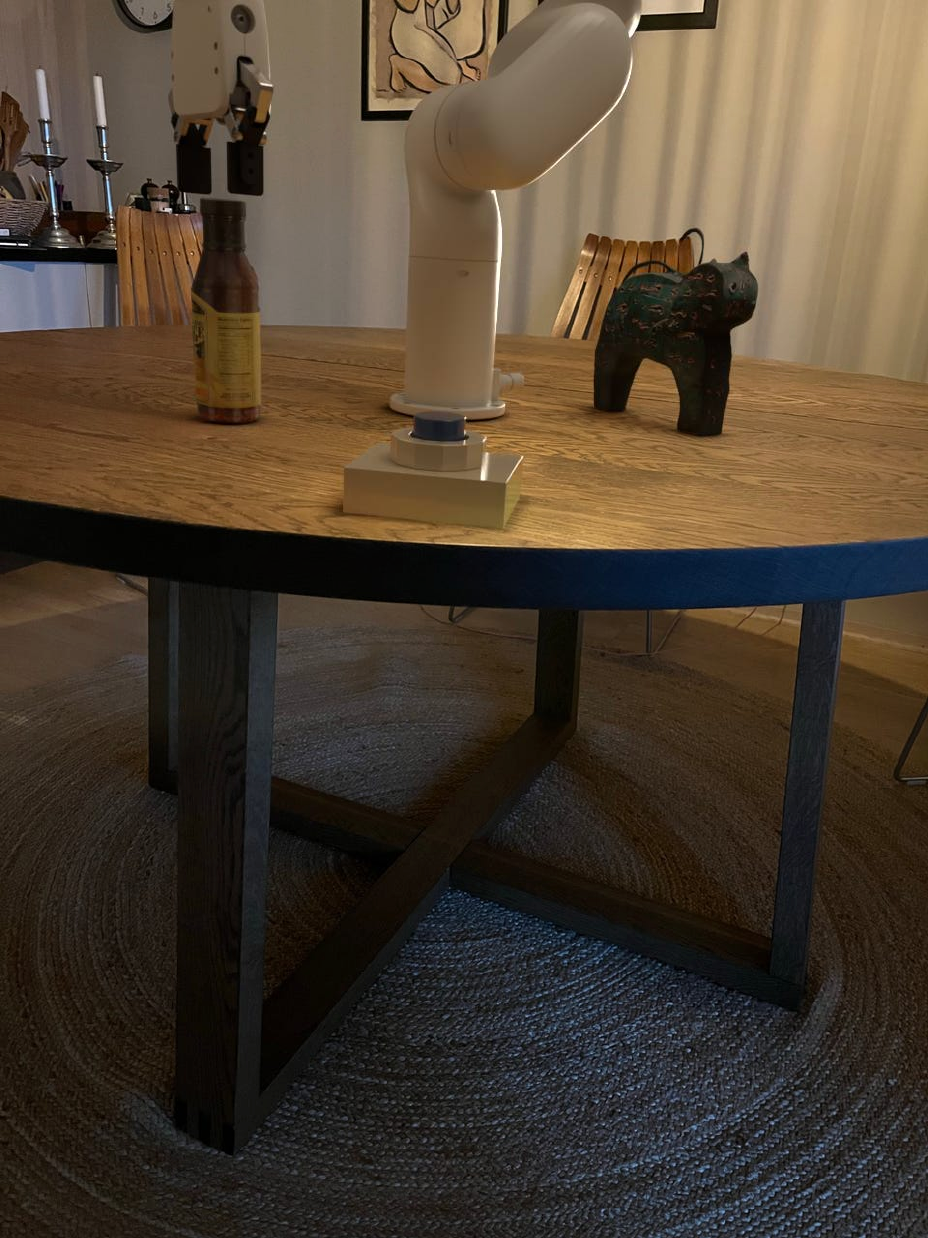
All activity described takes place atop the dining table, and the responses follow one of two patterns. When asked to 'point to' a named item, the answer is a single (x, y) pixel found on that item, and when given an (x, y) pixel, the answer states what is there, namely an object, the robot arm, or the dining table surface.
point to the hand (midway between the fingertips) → (219, 193)
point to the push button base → (434, 481)
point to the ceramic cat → (676, 335)
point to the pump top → (439, 426)
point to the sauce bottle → (226, 318)
